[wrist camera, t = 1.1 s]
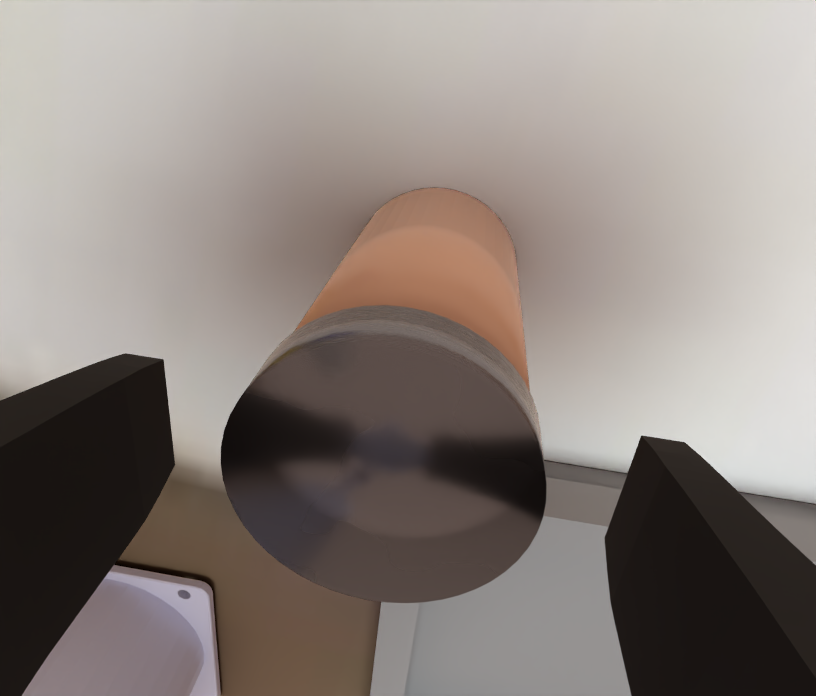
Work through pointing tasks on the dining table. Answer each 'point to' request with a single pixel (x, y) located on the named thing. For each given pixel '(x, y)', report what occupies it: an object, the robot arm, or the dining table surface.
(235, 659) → the dining table surface
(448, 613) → the tray
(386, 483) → the shaker
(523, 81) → the dining table surface
